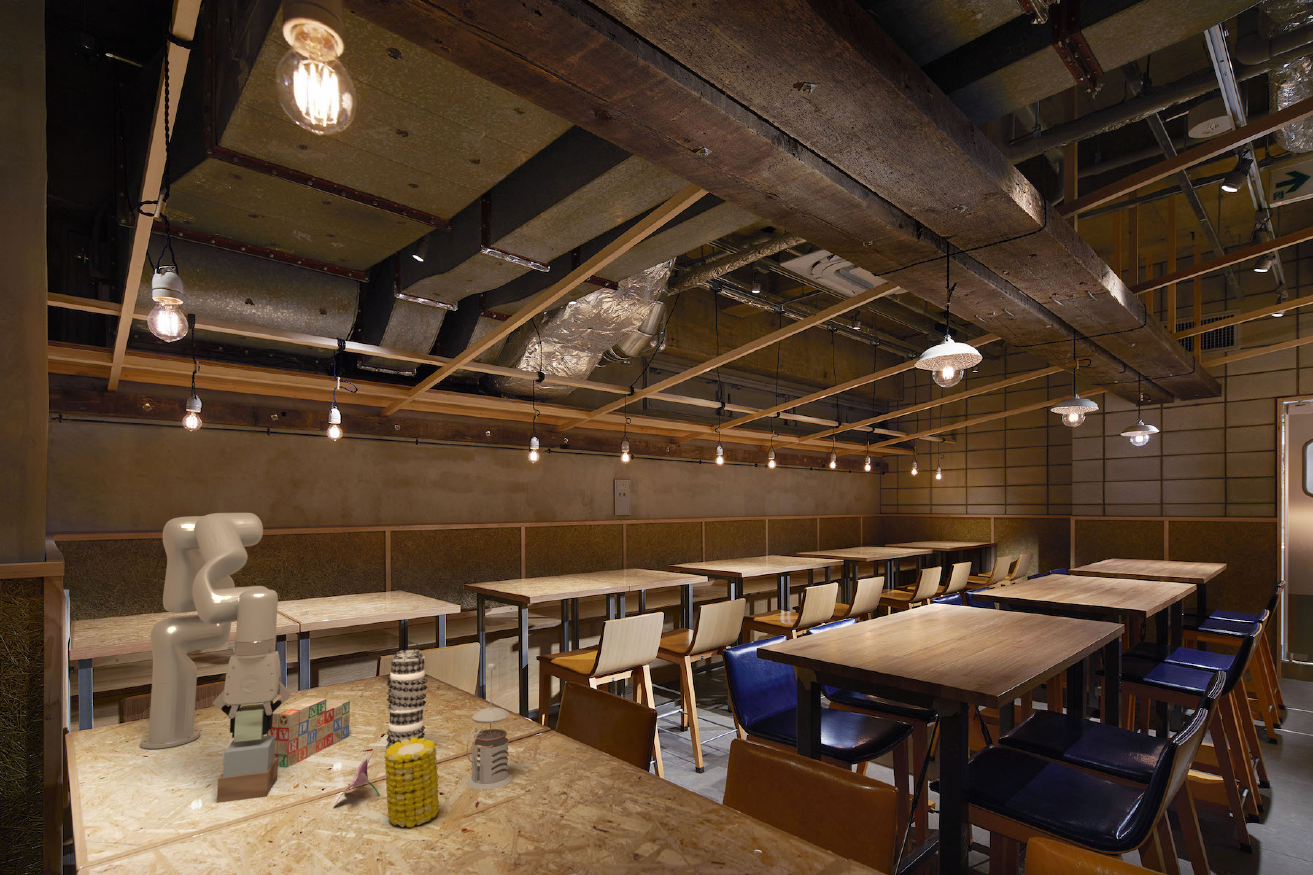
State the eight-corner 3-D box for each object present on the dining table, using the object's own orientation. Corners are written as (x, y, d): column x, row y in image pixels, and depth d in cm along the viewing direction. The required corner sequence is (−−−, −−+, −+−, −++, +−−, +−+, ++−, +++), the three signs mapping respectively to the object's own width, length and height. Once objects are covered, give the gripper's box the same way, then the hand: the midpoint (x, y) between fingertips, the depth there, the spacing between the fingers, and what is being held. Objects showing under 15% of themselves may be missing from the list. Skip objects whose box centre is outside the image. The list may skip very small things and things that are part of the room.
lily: (368, 786, 144) (346, 750, 143) (410, 770, 141) (388, 733, 140) (333, 829, 132) (309, 790, 131) (378, 812, 129) (353, 773, 128)
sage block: (240, 734, 142) (242, 705, 143) (266, 731, 144) (268, 703, 144) (233, 741, 137) (235, 712, 138) (260, 739, 139) (262, 709, 140)
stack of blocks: (329, 734, 174) (331, 687, 175) (349, 736, 172) (351, 688, 174) (264, 766, 153) (267, 711, 154) (287, 768, 151) (290, 713, 153)
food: (447, 820, 128) (403, 846, 120) (410, 793, 135) (365, 815, 126) (458, 747, 128) (414, 767, 119) (420, 723, 134) (375, 740, 125)
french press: (521, 775, 146) (522, 660, 149) (487, 796, 136) (489, 672, 138) (486, 768, 150) (488, 656, 153) (451, 788, 140) (453, 668, 142)
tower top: (232, 763, 142) (233, 739, 143) (274, 758, 145) (275, 734, 145) (222, 777, 135) (224, 752, 135) (267, 771, 138) (268, 746, 138)
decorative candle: (375, 762, 154) (379, 654, 157) (404, 749, 162) (407, 646, 165) (405, 768, 151) (409, 657, 153) (433, 754, 159) (436, 649, 162)
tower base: (230, 786, 142) (232, 762, 143) (277, 780, 145) (278, 757, 146) (216, 803, 134) (218, 778, 134) (266, 797, 137) (267, 772, 137)
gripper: (204, 654, 136) (198, 744, 135) (295, 648, 142) (291, 735, 140) (216, 647, 144) (211, 733, 142) (302, 641, 149) (298, 724, 147)
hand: (251, 733), depth 141 cm, fingers closed on sage block, 5 cm apart
